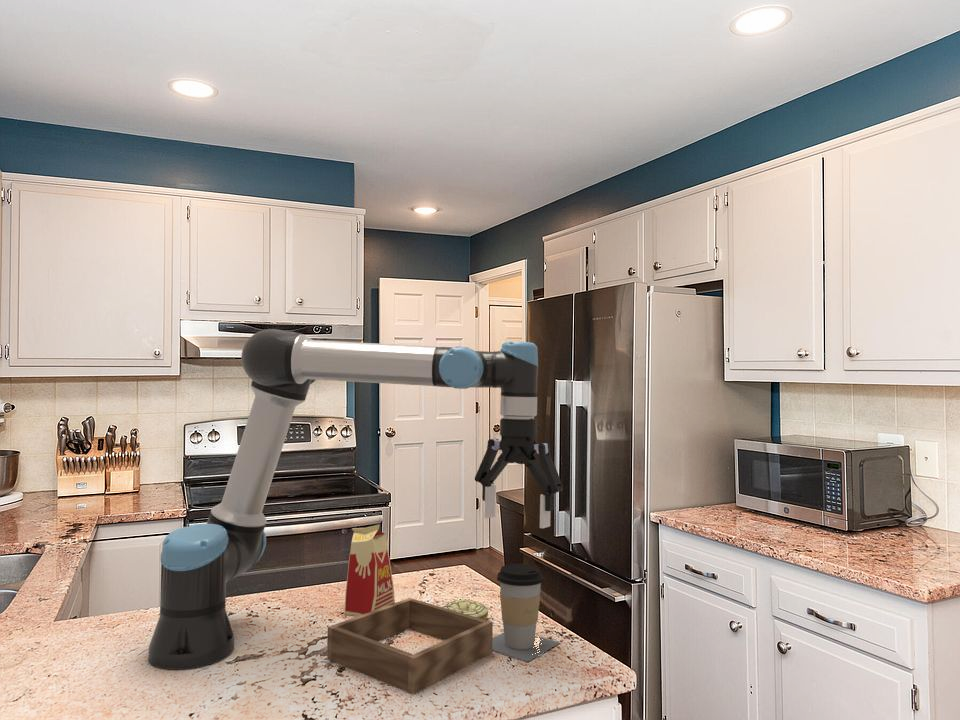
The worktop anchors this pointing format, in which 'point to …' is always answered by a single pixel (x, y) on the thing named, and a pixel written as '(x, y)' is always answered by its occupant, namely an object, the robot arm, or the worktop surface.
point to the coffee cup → (519, 603)
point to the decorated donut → (468, 608)
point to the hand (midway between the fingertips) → (516, 522)
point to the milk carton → (368, 573)
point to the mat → (525, 654)
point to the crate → (401, 669)
